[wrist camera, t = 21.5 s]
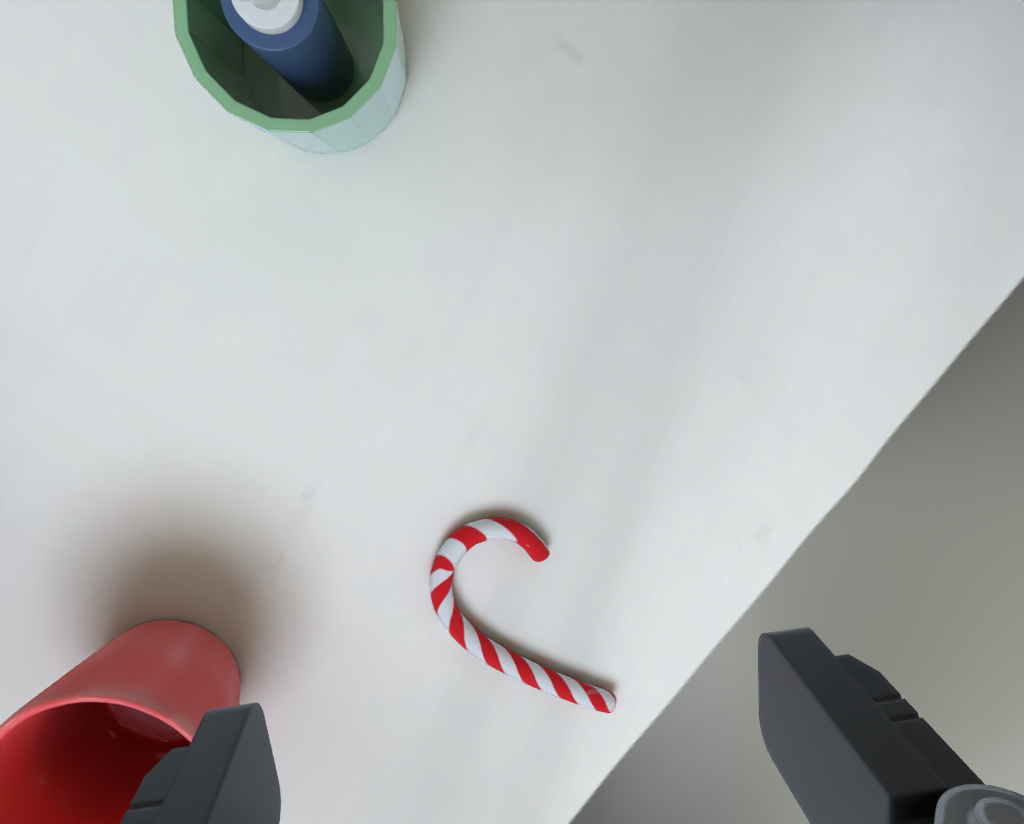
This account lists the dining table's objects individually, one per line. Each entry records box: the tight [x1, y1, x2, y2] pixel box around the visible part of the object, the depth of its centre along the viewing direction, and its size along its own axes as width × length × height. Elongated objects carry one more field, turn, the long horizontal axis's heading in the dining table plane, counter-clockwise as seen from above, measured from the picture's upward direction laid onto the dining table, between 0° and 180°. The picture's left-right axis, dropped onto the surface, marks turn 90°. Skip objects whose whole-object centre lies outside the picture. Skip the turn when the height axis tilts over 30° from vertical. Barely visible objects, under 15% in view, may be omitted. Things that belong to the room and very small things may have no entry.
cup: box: [173, 0, 406, 154], centre depth 32 cm, size 8×8×9 cm
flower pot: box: [0, 620, 240, 824], centre depth 39 cm, size 11×11×10 cm
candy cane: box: [430, 518, 616, 713], centre depth 44 cm, size 8×1×15 cm
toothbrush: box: [221, 0, 354, 102], centre depth 28 cm, size 3×3×16 cm
